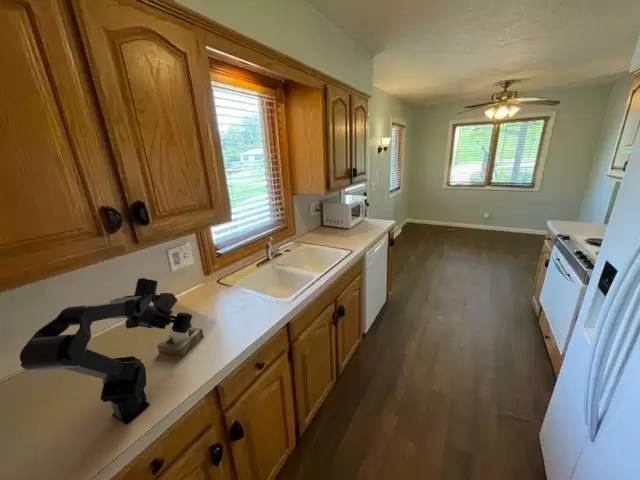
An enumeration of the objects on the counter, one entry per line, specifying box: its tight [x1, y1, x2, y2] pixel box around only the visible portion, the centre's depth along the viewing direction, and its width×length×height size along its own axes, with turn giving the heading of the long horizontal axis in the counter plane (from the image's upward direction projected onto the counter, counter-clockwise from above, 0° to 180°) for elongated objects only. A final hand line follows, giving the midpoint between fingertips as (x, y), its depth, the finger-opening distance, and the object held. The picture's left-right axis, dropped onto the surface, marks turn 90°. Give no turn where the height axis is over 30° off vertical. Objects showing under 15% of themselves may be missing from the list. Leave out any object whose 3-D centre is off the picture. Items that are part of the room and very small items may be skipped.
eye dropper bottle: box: [169, 314, 189, 346], centre depth 99 cm, size 4×6×12 cm
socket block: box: [157, 326, 204, 359], centre depth 100 cm, size 12×10×4 cm
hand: (180, 324), depth 99 cm, fingers open, 9 cm apart
